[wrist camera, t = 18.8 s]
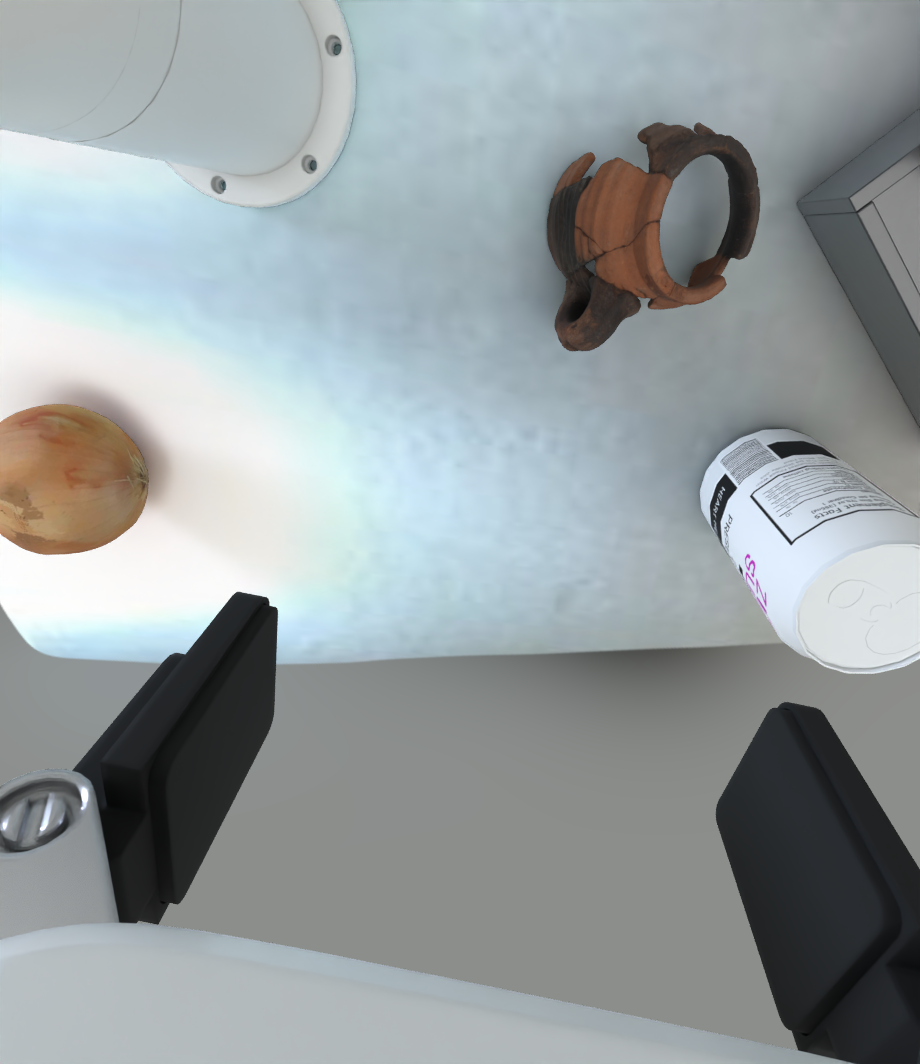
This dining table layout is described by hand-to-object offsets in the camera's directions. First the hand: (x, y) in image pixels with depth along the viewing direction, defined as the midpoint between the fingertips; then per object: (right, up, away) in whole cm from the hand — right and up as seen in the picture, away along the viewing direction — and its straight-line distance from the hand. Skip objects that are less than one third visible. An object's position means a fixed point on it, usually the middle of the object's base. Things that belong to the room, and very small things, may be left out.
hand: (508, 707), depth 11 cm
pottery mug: (+9, +20, +23) cm, 32 cm away
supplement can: (+19, +7, +29) cm, 35 cm away
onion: (-27, +9, +33) cm, 43 cm away
